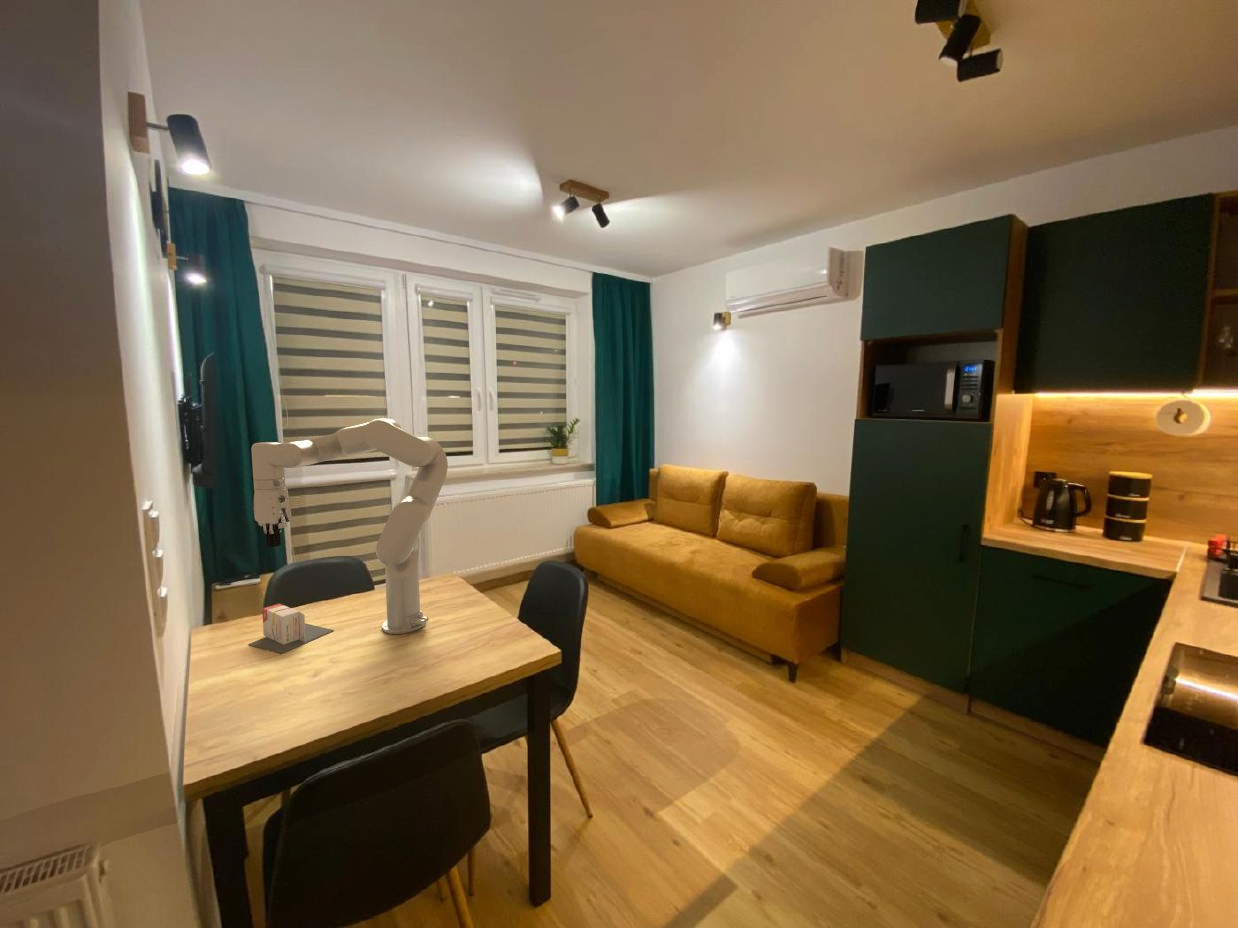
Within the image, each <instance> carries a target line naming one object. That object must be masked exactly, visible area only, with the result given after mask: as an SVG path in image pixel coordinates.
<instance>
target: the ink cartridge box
mask: <svg viewBox="0 0 1238 928" xmlns="http://www.w3.org/2000/svg"><path fill="white" fill-rule="evenodd" d="M261 610H262V632H263V633H262V634H263V636H264V637H268V638H270V639H272V640H274V641H276V642H279V643H281V644H283V645H284V644H287V643H290V642H293V641H296V640H299V639H302V640H303V641H305V623H306V621H305V620H306V619H305V614H304V613H302V612H301V611H299V610H297V609H294V608H291V607H289V606H287V605H284V604H282V603H275V604H274V605H270V606H267V607H263V608H262V609H261ZM302 623H303V631H302Z"/></svg>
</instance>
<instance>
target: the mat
mask: <svg viewBox="0 0 1238 928" xmlns="http://www.w3.org/2000/svg"><path fill="white" fill-rule="evenodd" d="M302 631H303V623H302ZM334 631H335V630H334V629H331V628H327V627H324V626H323V627H322V626H318V625H314V624H309V623H306V622H305V641H303V640H302V639H299V640H296V641H293V642H290V643H287V644H284V645H283V644H281V643H279V642H276V641H274V640H272V639H270V638H268V637H266V636H264V637H262V638H260V639H258V640H256V641H252V642H250V643H248V644H247V645H248V646H251V647H254V648H258V649H262V650H265V651H268V650H269V652H272V651H273V653H275V654H279V653H280V654H279V655H282V654H285V653H287V652H289V651H292V650H293V649H296V648H298V647H300V645H301V646H303V645H305V644H308V643H309V642H312V641H314V640H317V639H319V638H321V637H323V636H326V635H328V634H330V633H332V632H334ZM284 652H285V653H284Z"/></svg>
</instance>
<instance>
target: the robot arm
mask: <svg viewBox="0 0 1238 928" xmlns="http://www.w3.org/2000/svg"><path fill="white" fill-rule="evenodd" d="M374 451H378V452H380V453H383V455H386V456H388V457H391V458H393V459H395V460H396V461H398V462H400V463H403V464H405V465H407V466H409V467H413V468H418V470H417V472H416V474H415V476H414V478H413V480H412V482H411V484H410V486H409V489H408V490H407V491H408V492H407V493H406V495H405V497H404V498H403V499H401V500H400V501H399V502H398V503H396V505H394V507H393V508H392V510H391V511H390V514H389V517H388V519H387V521H386V523H385V525H384V528H383V529H382V532H381V534H380V536H379V538H378V540H377V543H376V545H375V554H376V557H377V559H378V560H379V562H380V563H382V564H383V565H385V574H384V575H385V597H386V599H385V600H386V620H385V621H384V622H383V623H382V624H381V630H382V631H383V632H384V633H386V634H390V635H400V634H401V635H402V634H409V633H411V632H415V631H418V630H420V629H421V628H423V627H425V626H426V625H427V623H428V622H429V619H430V618H429V617H427V616H423V615H424V614H423V613H424V612H423V610H421V600H420V561H419V560H420V548H421V547H420V545H421V544H420V536H419V534H420V533H421V531H422V528H423V527H424V525H425V523H427V522H428V520H429V518H430V517H431V514H432V512H433V508H434V507H435V504H436V501H437V499H438V497H439V496H440V492H441V489H442V487H443V485H444V483H445V481H446V477H447V473H448V465H449V463H448V458H447V453H446V452H445V449H443V447H442V446H441V445H440V444H439V442H437V440H435V439H433V438H431V437H427V436H421V437H418V436H416V435H413V434H412V433H409V432H407V431H405V430H404V429H402V427H401V425H400V424H399V422H397V421H395V420H394V419H391V418H377V419H376V418H375V419H373V420H370V421H369V422H365V423H361V424H358V425H352V426H348V427H343V428H339V429H338V430H337V431H335V432H333V433H331V434H328V435H324V436H320V437H315V438H310V439H306V440H299V441H298V440H297V441H291V442H282V443H281V442H272V441H270V442H269V441H266V442H263V441H262V442H256V443H253V444H252V446H251V463H252V465H251V466H252V477H253V490H254V494H253V515H254V521H256V522H257V524H258V526H260V527H262V528H263V533H264V534H265V546H266V548H271V549H272V548H276V547H279V546H281V545H282V540H281V532H282V529H283V528H284V529H285V528H287V526H288V524H287V523H289V522H291V521H292V508H291V502H290V498H289V497H290V495H289V493H288V492H289V491H288V489H286V475H285V469H286V468H287V469H298V468H302V467H305V466H310V465H315V464H319V463H322V462H323V463H324V462H325V461H329V460H335V459H338V458H349V457H354V456H357V455H362V454H366V453H370V452H374Z"/></svg>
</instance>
